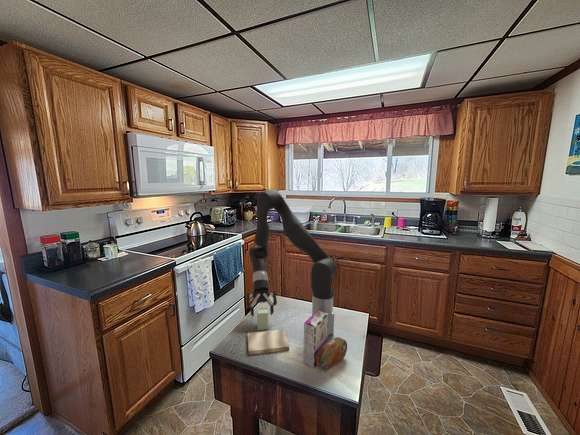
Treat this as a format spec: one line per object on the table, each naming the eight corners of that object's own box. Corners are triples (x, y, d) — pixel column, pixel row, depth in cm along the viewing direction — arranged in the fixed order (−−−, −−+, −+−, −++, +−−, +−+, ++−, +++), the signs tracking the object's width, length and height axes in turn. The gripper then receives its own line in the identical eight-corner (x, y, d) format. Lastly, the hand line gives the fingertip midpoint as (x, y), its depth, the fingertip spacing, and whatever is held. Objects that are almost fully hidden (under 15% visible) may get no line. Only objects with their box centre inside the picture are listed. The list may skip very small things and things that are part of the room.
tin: (320, 375, 85) (321, 353, 84) (314, 370, 88) (315, 348, 87) (347, 357, 95) (348, 336, 94) (340, 352, 97) (341, 332, 96)
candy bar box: (316, 347, 100) (317, 309, 98) (327, 352, 98) (329, 313, 95) (302, 363, 91) (303, 321, 89) (314, 369, 88) (316, 326, 86)
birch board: (283, 332, 110) (283, 329, 110) (289, 349, 98) (289, 346, 98) (247, 336, 107) (247, 333, 106) (248, 354, 95) (248, 351, 95)
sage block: (266, 323, 117) (266, 307, 115) (267, 329, 112) (267, 312, 111) (257, 324, 116) (257, 308, 115) (257, 330, 111) (257, 313, 110)
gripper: (246, 279, 119) (246, 314, 109) (275, 278, 121) (278, 311, 112) (245, 285, 124) (246, 319, 115) (273, 284, 127) (276, 316, 118)
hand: (262, 315), depth 113 cm, fingers open, 8 cm apart
